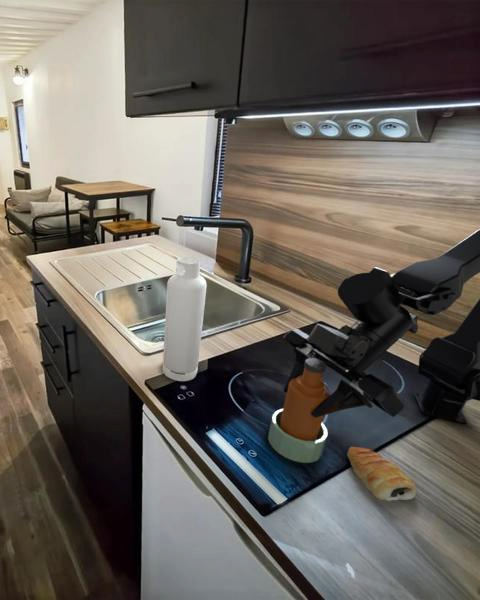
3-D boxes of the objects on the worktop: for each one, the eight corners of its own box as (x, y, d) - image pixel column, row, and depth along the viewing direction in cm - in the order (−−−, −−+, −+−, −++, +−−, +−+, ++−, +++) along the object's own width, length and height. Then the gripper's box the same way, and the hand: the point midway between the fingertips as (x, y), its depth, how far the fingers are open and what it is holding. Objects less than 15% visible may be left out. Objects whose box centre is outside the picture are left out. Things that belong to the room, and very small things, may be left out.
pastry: (333, 456, 63) (339, 439, 61) (370, 452, 63) (376, 435, 62) (378, 506, 55) (386, 488, 53) (420, 501, 55) (429, 483, 53)
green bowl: (268, 423, 71) (273, 403, 69) (319, 437, 67) (326, 416, 65) (266, 454, 64) (270, 433, 62) (322, 472, 60) (329, 450, 58)
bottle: (156, 365, 89) (161, 257, 78) (183, 358, 92) (193, 251, 80) (175, 384, 83) (183, 269, 71) (204, 375, 85) (217, 262, 73)
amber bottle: (279, 417, 68) (295, 349, 61) (315, 427, 65) (335, 357, 59) (278, 439, 63) (294, 368, 57) (317, 450, 61) (339, 377, 54)
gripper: (302, 287, 63) (238, 351, 66) (415, 340, 47) (323, 423, 49) (330, 319, 68) (269, 378, 71) (441, 378, 51) (355, 452, 54)
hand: (298, 403), depth 61 cm, fingers closed on amber bottle, 6 cm apart
